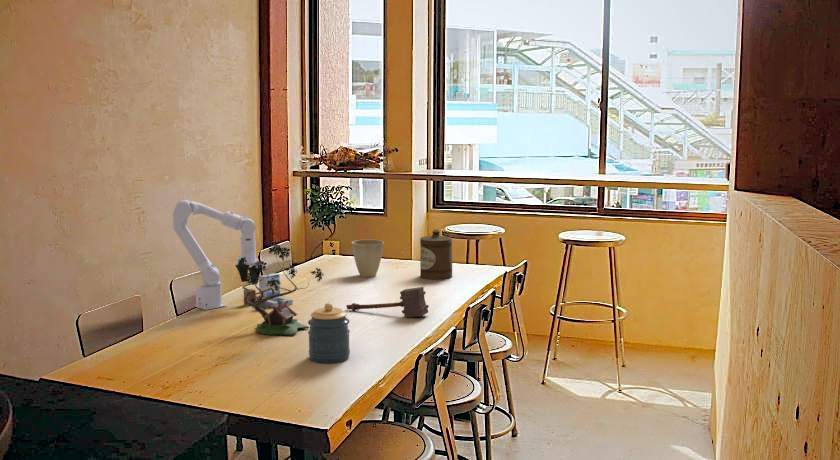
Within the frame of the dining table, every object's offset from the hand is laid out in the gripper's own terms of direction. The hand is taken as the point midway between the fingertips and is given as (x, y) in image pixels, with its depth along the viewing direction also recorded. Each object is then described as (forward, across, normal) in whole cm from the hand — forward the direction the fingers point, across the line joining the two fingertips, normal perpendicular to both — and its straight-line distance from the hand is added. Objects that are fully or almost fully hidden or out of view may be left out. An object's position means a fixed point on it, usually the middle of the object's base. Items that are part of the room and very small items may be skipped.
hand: (249, 282), depth 340 cm
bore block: (+9, -7, -8) cm, 14 cm away
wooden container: (+9, -10, -94) cm, 95 cm away
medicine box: (+9, +10, -16) cm, 20 cm away
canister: (+9, -80, +20) cm, 83 cm away
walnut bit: (+9, 0, 0) cm, 9 cm away
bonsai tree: (+9, -46, +14) cm, 49 cm away
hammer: (+9, -48, -30) cm, 57 cm away
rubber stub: (+9, -10, 0) cm, 13 cm away
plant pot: (+9, +12, -72) cm, 73 cm away
